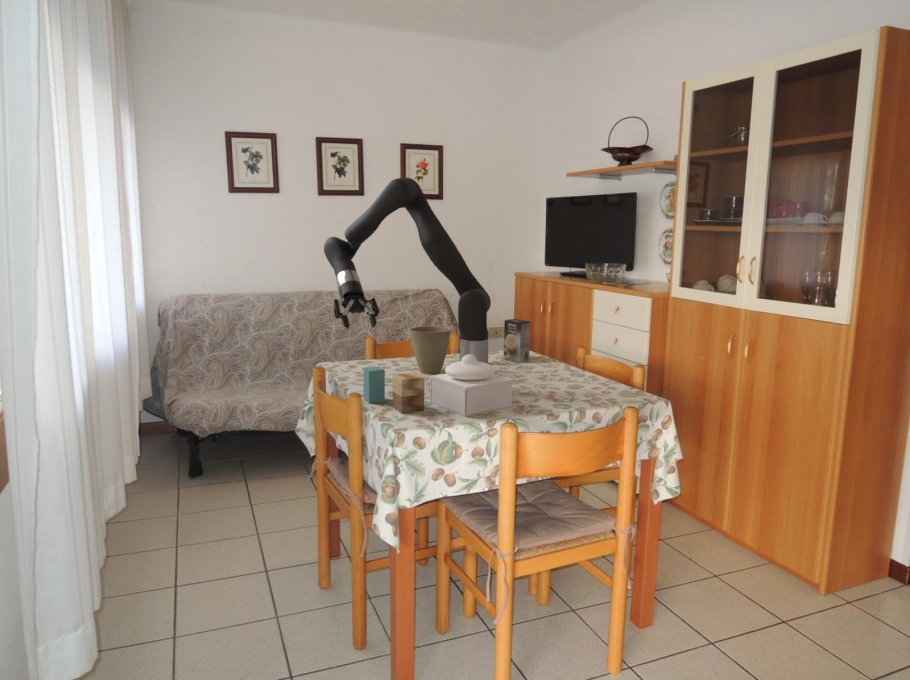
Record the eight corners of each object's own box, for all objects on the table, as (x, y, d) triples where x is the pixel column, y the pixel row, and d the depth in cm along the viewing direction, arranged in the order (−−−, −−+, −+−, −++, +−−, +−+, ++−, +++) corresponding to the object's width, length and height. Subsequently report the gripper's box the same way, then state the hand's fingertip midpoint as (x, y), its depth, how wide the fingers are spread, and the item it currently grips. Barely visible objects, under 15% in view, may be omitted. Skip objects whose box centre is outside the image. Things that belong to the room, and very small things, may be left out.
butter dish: (475, 395, 214) (476, 346, 211) (512, 408, 200) (514, 355, 197) (429, 403, 204) (430, 352, 201) (465, 417, 189) (466, 362, 187)
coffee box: (502, 359, 270) (503, 319, 267) (513, 357, 274) (514, 318, 271) (519, 363, 263) (520, 322, 260) (530, 360, 267) (531, 321, 265)
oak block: (414, 388, 201) (414, 372, 200) (424, 394, 195) (424, 377, 194) (392, 391, 198) (392, 374, 197) (401, 396, 191) (401, 379, 191)
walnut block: (414, 405, 202) (414, 388, 201) (424, 410, 195) (424, 394, 195) (392, 407, 198) (392, 391, 198) (401, 413, 192) (401, 396, 191)
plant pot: (452, 368, 253) (452, 326, 250) (448, 377, 238) (448, 332, 235) (413, 366, 254) (413, 325, 251) (406, 375, 239) (406, 331, 237)
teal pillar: (379, 397, 209) (378, 366, 207) (384, 401, 204) (384, 369, 203) (363, 399, 207) (363, 367, 205) (369, 403, 202) (368, 371, 201)
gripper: (330, 280, 214) (341, 320, 206) (373, 279, 221) (385, 318, 212) (326, 294, 220) (336, 334, 212) (367, 293, 226) (379, 332, 218)
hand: (361, 326), depth 212 cm, fingers open, 8 cm apart
